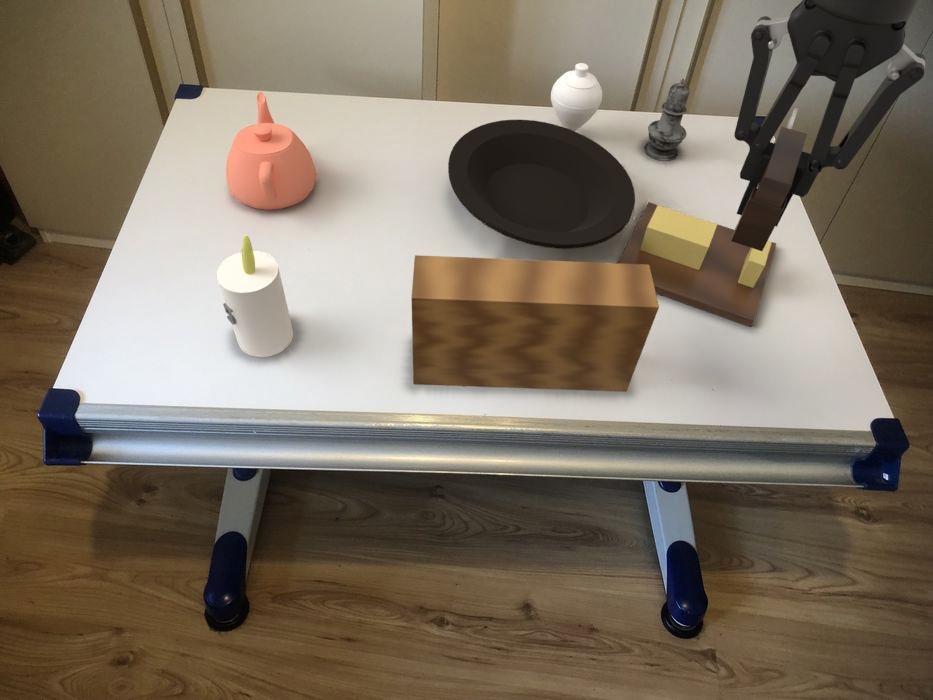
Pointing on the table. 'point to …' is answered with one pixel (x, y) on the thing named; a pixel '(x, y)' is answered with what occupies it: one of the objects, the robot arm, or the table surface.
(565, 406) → the table surface
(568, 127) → the spinning top
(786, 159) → the brown and grey bar
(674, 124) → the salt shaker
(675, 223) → the butter block
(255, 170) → the teapot
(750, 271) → the butter slice
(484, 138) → the plate
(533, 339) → the wood grain block
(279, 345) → the candle
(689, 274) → the board
